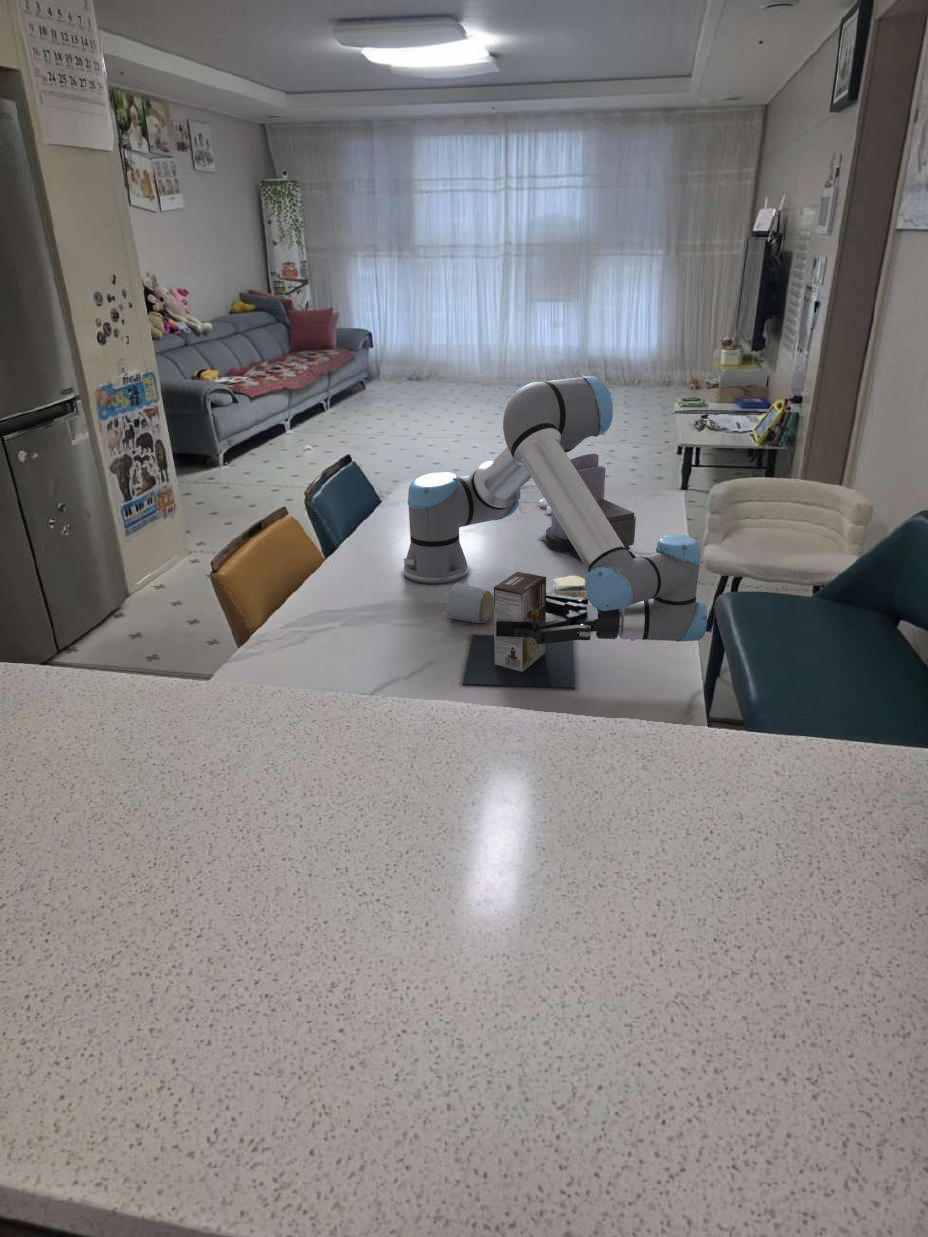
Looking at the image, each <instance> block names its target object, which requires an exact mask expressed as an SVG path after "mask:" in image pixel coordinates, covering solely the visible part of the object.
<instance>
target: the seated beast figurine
mask: <svg viewBox="0 0 928 1237" xmlns="http://www.w3.org/2000/svg"><path fill="white" fill-rule="evenodd" d="M539 507H540V508H546V509H545V511H546V514H547V515H552V510H551V508H550V507H549V505H548V503H547V502H546V500H545V498H544V497H543V498H542V499H540V500H539Z"/></svg>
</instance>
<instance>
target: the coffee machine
mask: <svg viewBox="0 0 928 1237" xmlns="http://www.w3.org/2000/svg"><path fill="white" fill-rule="evenodd" d="M599 457H600V456H599V454H598V453H587V454H582V455H580V456H576V457H574V458H570V460H571V462H572V464H573V465H574V467H575V468H576V470H577V472H578V473H579V475H580V476H581V478H582V480H583V481H584V483H585V484H586V486H587V488H588V489H589V491H590V492H591V494H592V496H593V497H594V499H595V500H596V502H597V504H598V505H599V507H600V508H601V510H602V512H603V513H604V515H605V516H606V518H607V520H608V521H609V523H610V524H611V526H612V528H613V529H614V531H615V532H616V534H617V536H618V537H619V539H620V540H621V542H622V544H623V545H624V547H625V548H626V549H627V551H628V552H629V554H630V556H631V557H632V558H633V559H635V558H637V556H636V555H635V554H634V553H633V552H632V551H631V547H630V546H633V545H634V544H635V538H636V522H637V516H635V512H634V511H631V510H629V509H627V508H624V507H622V506H620V505H618V504H616V503H613V502H612V501H609V500H607V499H605V484H606V467H605V466H603V465H599V460H600V459H599ZM550 522H551V523H550V524H551V525H550V526H549V527H548V528H546V530H545V536H543V537H542V538H541V539H540V541H542V542H544V543H545V545H546V546H547V547H548V548H549V549H551V550H553V551H556V552H559V553H560V552H561V553H566V554H569V555H571V556H572V557H574V558H576V559H577V560H579V561H581V562H583V561H582V559H581V558H580V556H579V555H578V553H577V551H576V550H575V548H574V546H573V545H572V543H571V541H570V540H569V538H568V536H567V535H566V533H565V531H564V530H563V528H562V526H561V525H560V523H559V522H558V520H557V518H556V517H555V515H554V513H553V512H552V514H551V521H550Z"/></svg>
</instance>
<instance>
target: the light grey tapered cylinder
mask: <svg viewBox="0 0 928 1237" xmlns="http://www.w3.org/2000/svg"><path fill="white" fill-rule="evenodd" d="M446 600H447V601H446V614H447V617H448V618H449V619H451V620H456V621H461V622H462V621H463V622H468V623H475V624H484V623H487V621H488V620H489V619H490V617H491V615H492V613H493V609H494V595H493V593H492V592H491V591H490V590H487V589H485V588H481V587H476V586H472V585H469V584H465V583H459V582H455V583H454V584H453V585H452V587H451V588H450V590H449V592H448V596H447V599H446Z"/></svg>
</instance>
